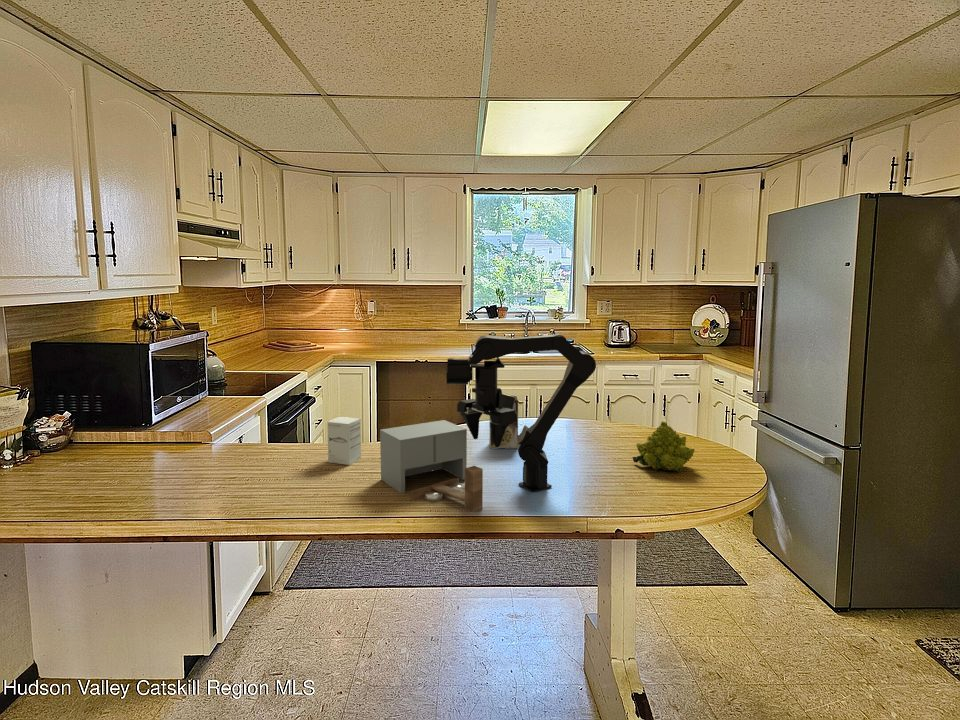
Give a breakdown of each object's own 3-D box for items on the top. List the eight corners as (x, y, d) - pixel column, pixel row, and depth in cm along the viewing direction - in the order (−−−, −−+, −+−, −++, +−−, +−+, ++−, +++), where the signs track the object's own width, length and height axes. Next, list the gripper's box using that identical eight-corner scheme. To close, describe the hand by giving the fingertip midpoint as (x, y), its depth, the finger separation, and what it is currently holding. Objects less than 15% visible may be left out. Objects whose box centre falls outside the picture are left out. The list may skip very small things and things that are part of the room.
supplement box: (327, 463, 182) (326, 421, 180) (340, 456, 189) (339, 415, 187) (349, 465, 180) (348, 423, 178) (362, 458, 187) (361, 417, 185)
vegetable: (619, 452, 182) (648, 410, 181) (651, 472, 189) (679, 432, 188) (649, 476, 169) (681, 431, 168) (682, 497, 176) (713, 454, 175)
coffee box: (516, 443, 204) (517, 395, 202) (518, 448, 198) (519, 399, 195) (488, 443, 204) (489, 395, 201) (489, 449, 197) (490, 399, 195)
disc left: (445, 499, 155) (445, 493, 155) (432, 503, 152) (432, 497, 152) (434, 494, 158) (434, 488, 158) (421, 498, 155) (421, 492, 155)
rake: (500, 502, 152) (500, 463, 151) (454, 518, 142) (454, 477, 141) (456, 485, 164) (456, 449, 163) (410, 499, 154) (410, 460, 153)
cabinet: (466, 478, 169) (466, 429, 167) (401, 493, 158) (400, 440, 156) (444, 466, 179) (444, 419, 177) (381, 479, 168) (380, 429, 166)
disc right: (469, 491, 160) (469, 485, 160) (457, 496, 157) (457, 489, 157) (457, 487, 163) (457, 481, 163) (445, 491, 160) (445, 485, 160)
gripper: (533, 386, 157) (533, 445, 159) (488, 376, 172) (488, 430, 174) (500, 391, 150) (499, 453, 153) (455, 380, 165) (456, 437, 167)
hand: (486, 442), depth 162 cm, fingers open, 9 cm apart
